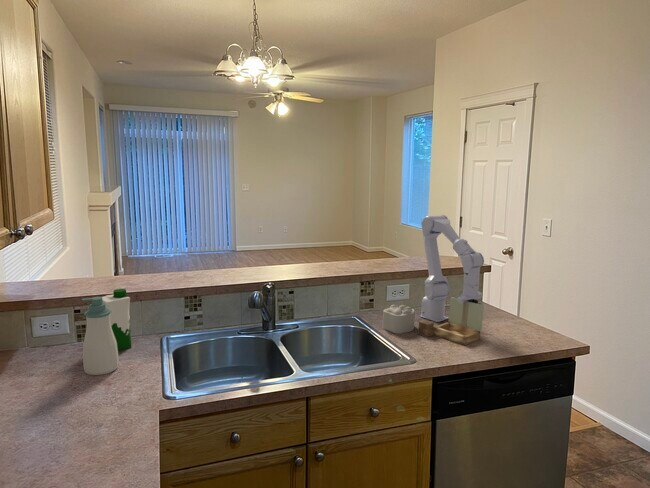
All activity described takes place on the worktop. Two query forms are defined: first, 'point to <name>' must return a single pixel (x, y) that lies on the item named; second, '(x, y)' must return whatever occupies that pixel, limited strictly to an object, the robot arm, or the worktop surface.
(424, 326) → the walnut block
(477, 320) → the lid
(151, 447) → the worktop surface
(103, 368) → the soap bottle
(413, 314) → the lumpy-topped squat cylinder
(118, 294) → the milk carton
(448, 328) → the box
